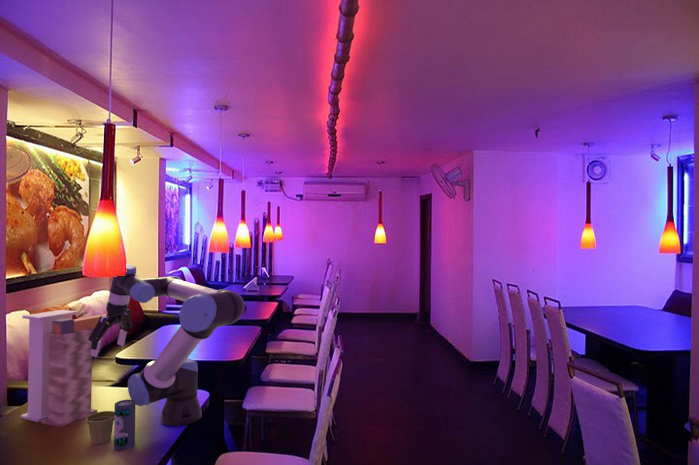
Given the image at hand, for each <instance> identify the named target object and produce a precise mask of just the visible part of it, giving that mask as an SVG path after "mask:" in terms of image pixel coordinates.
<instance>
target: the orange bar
mask: <svg viewBox="0 0 699 465" xmlns="http://www.w3.org/2000/svg"><path fill="white" fill-rule="evenodd" d="M106 315H107V313H104V314H98V315H93V316H87V317H80V318H75V319H73V318H72V319H67V318H63V319H57V320H52V333H53V334H61V335H62V334H67V333H72V332H75V331H80V330H85V329H90V328H95V326H96V325H97V323H98V321H99V318H100V316H103V317H105V316H106ZM107 324H109V323H108V322H107Z"/></svg>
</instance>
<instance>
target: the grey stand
mask: <svg viewBox="0 0 699 465" xmlns="http://www.w3.org/2000/svg"><path fill="white" fill-rule="evenodd" d="M74 315H79V311H77V310H70V309H69V310H67V309H59V310H53V311H51V310H50V311H44V312H38V313H32V314H25V315H22V316H21V317H22V319H24V320H26V319H27V320H29V322H28V328H29V329H28V365H27V366H28V368H27V369H28V372H27V373H28V374H27V379H28V380H27V412H26V413H23V414H21V415H20V419H24V420H27V421H32V422H36V423H38V422H41V420H43V419H46V418H48V397H49V340H50V337H43V334H44V333H49V332H52V320H57V319H63V318H67V319H73V316H74Z"/></svg>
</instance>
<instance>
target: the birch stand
mask: <svg viewBox="0 0 699 465" xmlns="http://www.w3.org/2000/svg"><path fill="white" fill-rule="evenodd" d="M93 330H94V328H90V329H85V330H80V331H75V332H72V333H67V334H62V335H61V334H53V333H52V332H49V333H44V334H43V337H50V340H49V397H48V418H46V419H43V420H41V421H40V422H41V424H43V425H44V424H45V425H47V426H51V427H56V428H61V427H64V426H66V425H69V424H71V423H74V422H76V421H79V420H81V419H84V418H87V417H88V416H89V415H91V414H94V413H97V412H98V409H97V408H92V385H93V384H92V380H93V378H92V377H93V376H92V375H93V356H91V355H90V354H91V346H92V342H91V341H89V340H88V339H89V337H90V335H91V333H92V332H93Z"/></svg>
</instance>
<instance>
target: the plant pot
mask: <svg viewBox="0 0 699 465" xmlns="http://www.w3.org/2000/svg"><path fill="white" fill-rule="evenodd" d="M114 414H115V411H113V410H104V411H97V412H96V413H94V414H91V415H89V416H86V417H85V421H86V423H87V425H88V430H89V435H90V436H89V437H90V443H91V444H92V445H101V444H106V443H108V442H110V441H111V440H112V434H113V430H114Z"/></svg>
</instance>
